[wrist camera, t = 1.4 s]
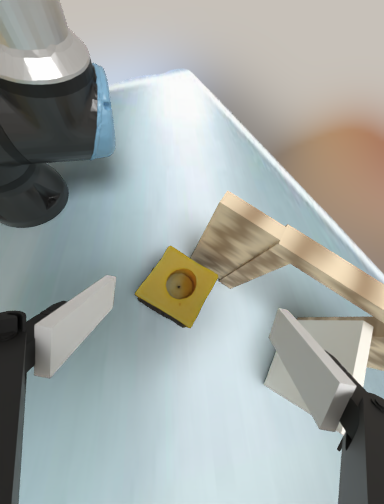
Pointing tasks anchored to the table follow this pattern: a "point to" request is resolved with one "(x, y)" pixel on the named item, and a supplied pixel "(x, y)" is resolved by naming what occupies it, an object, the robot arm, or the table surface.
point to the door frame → (285, 262)
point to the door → (334, 342)
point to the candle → (177, 287)
